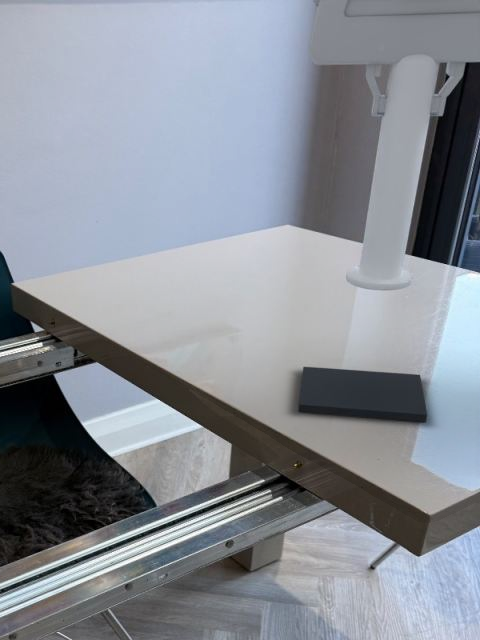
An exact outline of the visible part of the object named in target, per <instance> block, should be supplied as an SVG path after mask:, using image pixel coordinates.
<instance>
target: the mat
mask: <svg viewBox="0 0 480 640" xmlns="http://www.w3.org/2000/svg"><path fill="white" fill-rule="evenodd" d="M300 384H301V385H300V392H299V401H298V409H297V411H298V413H308V414H309V413H310V414H320V415H332V416H333V415H334V416H342V417H343V416H344V417H357V418H367V419H379V420H391V421H402V422H403V421H405V422H415V423H416V422H417V423H426V422H427V419H428V418H427V417H428V412H427V407H426V406H427V405H426V400H425V395H424V389H423V384H422V377H421V374H418V373H417V374H416V373H401V372H389V371H373V370H359V369H345V368H331V367H316V366H303V367H302V376H301V383H300Z"/></svg>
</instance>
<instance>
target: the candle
mask: <svg viewBox="0 0 480 640" xmlns="http://www.w3.org/2000/svg"><path fill="white" fill-rule="evenodd" d="M440 64H441V63H435V62H434V61H433V59H432V58H431V57H429V56H427V55H422V54H415V55H410V56H407V57H404V58H403V59H401V61H400V62H399V63H397V64H389V70H388V75H387V83H386V89H385V94H384V95H385V96H386V97H387V103H386V110H385V114H384V116H381V123H380V129H379V136H378V143H377V147H376V148H377V149H376V155H375V156H376V157H375V161H374V168H373V174H372V181H371V188H370V195H369V201H368V208H367V214H366V220H365V226H364V227H365V228H364V234H363V242H362V248H361V256H360V260H359V265H355V266H353V267H351V268H349V269H348V270H347V271H346V275H345V279H346V281H347V283H349V284H351V285H352V286H354V287H356V288H361V289H365V290H369V291H370V290H371V291H398V290H403V289H406V288H408V287H409V286H411V285H412V284H413V282H414V281H413V280H414V275H413V273H412V272H411V271H409V270H407V269H405V268H404V262H405V257H406V251H407V246H408V240H409V234H410V230H411V223H412V218H413V212H414V207H415V202H416V196H417V192H418V185H419V180H420V175H421V168H422V163H423V158H424V151H425V147H426V140H427V136H428V131H429V126H430V125H429V124H430V118H431V116H430V108H431V103H432V97H433V96H434V94H435V91H436V86H437V80H438V75H439V69H440Z"/></svg>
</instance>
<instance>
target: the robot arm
mask: <svg viewBox="0 0 480 640" xmlns="http://www.w3.org/2000/svg"><path fill="white" fill-rule="evenodd" d="M312 1H313V3H314V5H315V6H316V7H317V9H316V13H315V17H314V22H313V26H312V33H311V38H310V44H309V45H310V46H309V51H308V52H309V53H308V56H309V58H310V59H311V61H312V62H313V64H315V65H316V66H337V65H338V66H340V65H343V66H346V65H366V68H365V79H366V82H367V84H368V87H369V90H370V92H371V95H372V97H373V99H372V106H371V117H382V116H384V114H385V110H386V103H387V97H386V96H385V95H386V94H381V91H380V88H379V86H378V83H377V81H376V78H379V77H381V76H382V69H383V65H390V64H397V63H399V62H400V61H401V59H403V58H404V57H407V56H410V55H415V54H422V55H427V56H429V57H431V58H432V59H433V61H434V62H435V63H440V64H443V63H446V69H445V73H446V75H447V76H449V77H448V79H447V80H446V81H445V83H444V84H443V86H442V87H441V88H440V90H439V91H438V93H434V96H433V97H432V103H431V108H430V117H443V115H444V113H445V108H446V103H447V102H446V101H447V98H448V97H449V95H450V94H451V93H452V92H453V90H454V89H455V87H456V86H457V85H458V83H459V82H460V81H461V80H462V78H463V77H464V74H465V73H464V72H465V67H466V63H480V0H312Z"/></svg>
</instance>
